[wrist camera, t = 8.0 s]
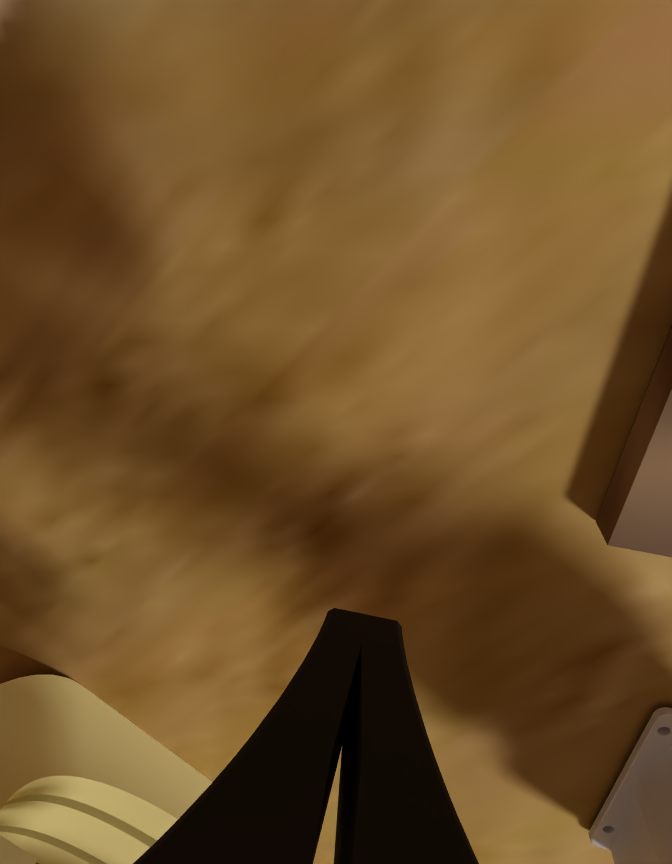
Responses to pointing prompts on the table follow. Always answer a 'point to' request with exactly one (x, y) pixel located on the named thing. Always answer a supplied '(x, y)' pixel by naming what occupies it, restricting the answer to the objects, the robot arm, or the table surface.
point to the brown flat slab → (644, 473)
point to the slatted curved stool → (82, 778)
